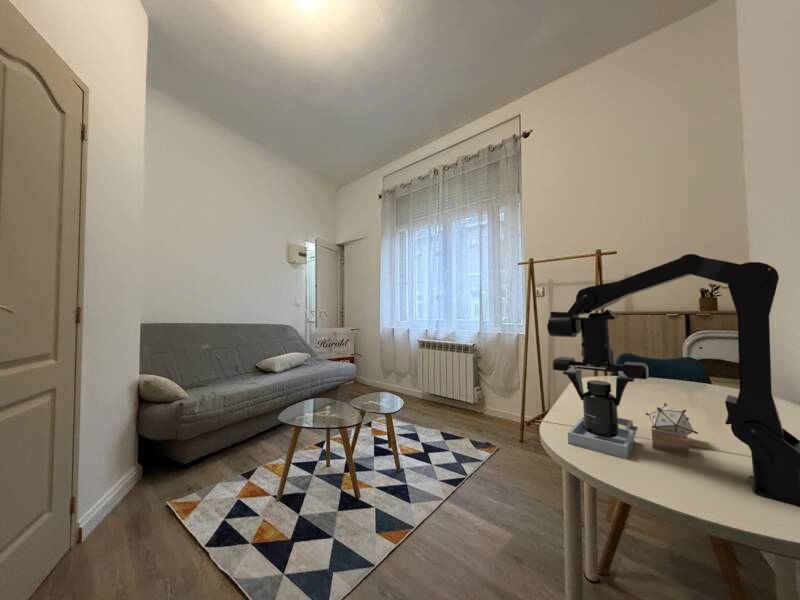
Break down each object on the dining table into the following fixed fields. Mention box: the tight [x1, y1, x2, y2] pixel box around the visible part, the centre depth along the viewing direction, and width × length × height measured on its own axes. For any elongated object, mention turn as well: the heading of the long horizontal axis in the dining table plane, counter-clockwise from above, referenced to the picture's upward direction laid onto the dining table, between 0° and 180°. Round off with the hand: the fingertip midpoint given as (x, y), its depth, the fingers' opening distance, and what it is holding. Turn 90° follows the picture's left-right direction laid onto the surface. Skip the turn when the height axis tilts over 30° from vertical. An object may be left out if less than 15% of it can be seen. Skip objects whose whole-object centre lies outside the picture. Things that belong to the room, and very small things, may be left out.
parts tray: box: [567, 419, 636, 460], centre depth 70 cm, size 11×11×3 cm
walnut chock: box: [651, 428, 691, 458], centre depth 65 cm, size 4×6×4 cm, turn 50°
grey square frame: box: [580, 416, 634, 430], centre depth 79 cm, size 10×10×2 cm
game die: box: [645, 402, 699, 436], centre depth 71 cm, size 9×8×10 cm
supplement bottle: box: [582, 379, 619, 438], centre depth 70 cm, size 7×7×12 cm
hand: (599, 402), depth 70 cm, fingers closed on supplement bottle, 7 cm apart
